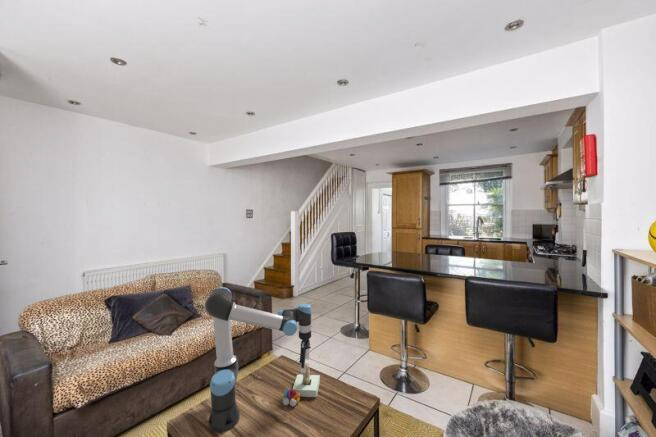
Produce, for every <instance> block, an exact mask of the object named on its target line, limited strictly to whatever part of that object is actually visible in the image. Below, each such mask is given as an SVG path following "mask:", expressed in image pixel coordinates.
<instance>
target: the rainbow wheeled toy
mask: <svg viewBox="0 0 656 437" xmlns="http://www.w3.org/2000/svg"><path fill="white" fill-rule="evenodd" d="M292 389H293V388H291V387H290V388H288V389H287V390H284V392H283V394H284V395H283V396H282V404H283V405H284V406H288V405H289V406H290V407H296V405H297V403H299V402H300V400H301V397H300V394H299V393H298V392H295V391H296V390H295V389H294V390H293V392H292Z"/></svg>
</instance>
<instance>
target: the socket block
mask: <svg viewBox="0 0 656 437" xmlns="http://www.w3.org/2000/svg"><path fill="white" fill-rule="evenodd" d="M295 378H296V379H295V381H294V384H293V387H292V388H291V389H292V392H293V390H294V389H295V390H296V391H295V392H298V393H299V394H300V398H301V397H302V398H304V397H306V398H317V397H318V393H319V387H320V383H321V378H320V374H310V385H303V374H297V375H296V377H295Z"/></svg>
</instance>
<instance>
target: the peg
mask: <svg viewBox="0 0 656 437" xmlns="http://www.w3.org/2000/svg"><path fill="white" fill-rule="evenodd" d="M305 369H306V372H305V373H302V375H303V385H310V375H311V374H310V373H311V371H310V363H308V362H305Z"/></svg>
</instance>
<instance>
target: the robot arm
mask: <svg viewBox="0 0 656 437" xmlns="http://www.w3.org/2000/svg"><path fill="white" fill-rule="evenodd" d="M232 300H233V295H232V292H231V290H230V289H229V288H227V287H224V286H219V287H216V288H214V289H213V290H212V291H210V293H209V295H208V297H207V299H206V300H205V303H204V309H205V312H206V313H207V315H209V316H210V317H211V318H212V321H213V333H214V334H213V335H214V342H215V343H214V344H215V351H216V354H215V355H216V359H215V361H214V363H213V364H214V374H213V376H212V377H211V379H210V383H209V388H210V389H209V390H210V405H211V410H210V413H209V417H208V420H207V422H208V425H207V426H208V429H209V430H210V431H212V432H214V433H223V432H227V431H229V430H231V429H232V428H234V427H235V426H236V425H237V424H238V423H239V421H240V418H241V414H240V413H241V412H240V409H239V406H238V404H237V399H236V398H237V397H236V385H237V380H238V379H237V378H238V374H239V369H240V368H239V363H238V360H237V355H234V349H233V348H234V347H233V338H232V326H231V321H235V322H239V323H244V324H248V325H253V326H258V327H261V328H267V329H271V330H275V331H279V332H282V333H284V335H286V336H288V337H290V336H294V335H295V334H296V333H297V332H298V338H299V339H300V340H301V342H300V352H299V360H298V363H300V373H301V374H303V373H305V372H306V369H305V363H306V361H307V360H308V361H309V360H310V359H311V358H310V349H311V348H312V347H311V344H310V343H311V342H310V338H312V327H313V325H312V306H311V304H308V303H304V302H303V303H300V304H299V305H298V307H297V308H289V309H280V310H278V311H277V314H276V313H272V312H268V311H264V310H260V309H257V308H252V307H248V306H243V305H239V304H236V302H235V301H232Z"/></svg>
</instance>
